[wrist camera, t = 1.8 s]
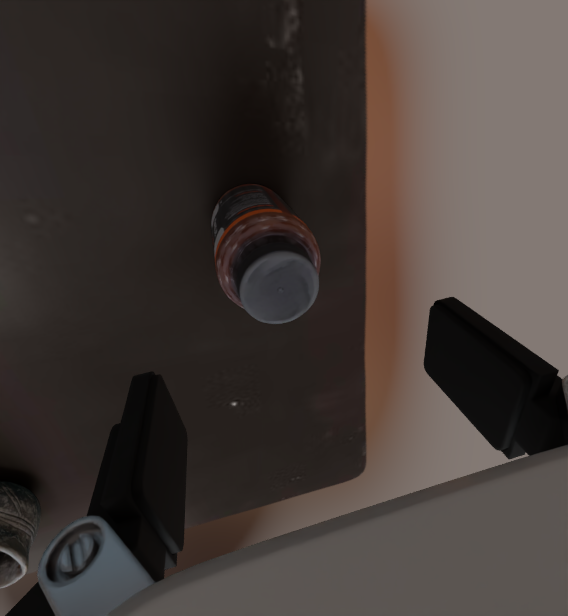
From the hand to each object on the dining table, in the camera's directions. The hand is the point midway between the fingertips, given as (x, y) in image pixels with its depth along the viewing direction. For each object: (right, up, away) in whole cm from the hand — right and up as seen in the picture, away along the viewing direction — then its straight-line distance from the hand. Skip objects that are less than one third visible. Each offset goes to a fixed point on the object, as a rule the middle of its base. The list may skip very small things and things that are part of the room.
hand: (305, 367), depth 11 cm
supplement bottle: (-3, +9, +14) cm, 17 cm away
